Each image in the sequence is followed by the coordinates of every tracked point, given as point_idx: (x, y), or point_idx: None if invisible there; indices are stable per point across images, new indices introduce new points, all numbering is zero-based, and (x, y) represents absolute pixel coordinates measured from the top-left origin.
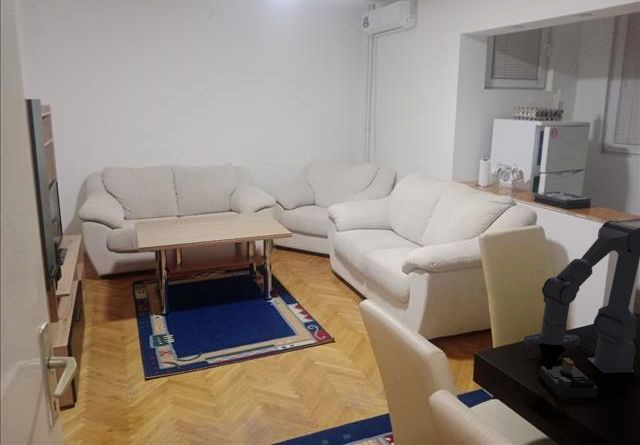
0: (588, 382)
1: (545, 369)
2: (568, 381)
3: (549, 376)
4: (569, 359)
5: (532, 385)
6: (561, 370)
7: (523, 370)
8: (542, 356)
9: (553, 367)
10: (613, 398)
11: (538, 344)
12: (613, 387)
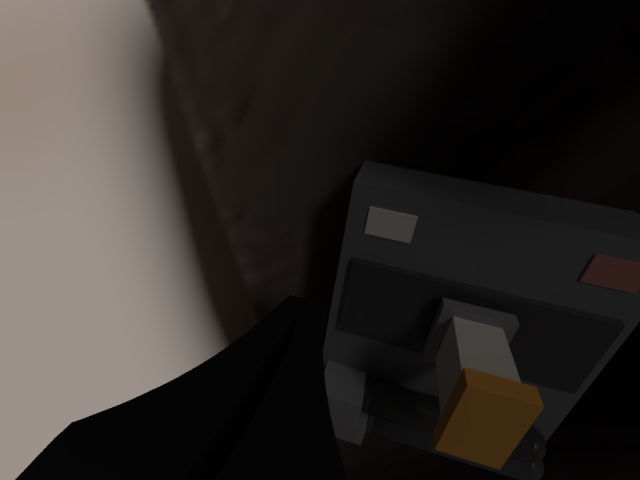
0: (480, 466)
1: (362, 230)
2: (344, 439)
3: (333, 297)
4: (515, 426)
5: (262, 235)
6: (437, 321)
7: (300, 64)
8: (239, 340)
9: (454, 223)
10: (603, 434)
11: (94, 419)
12: None
